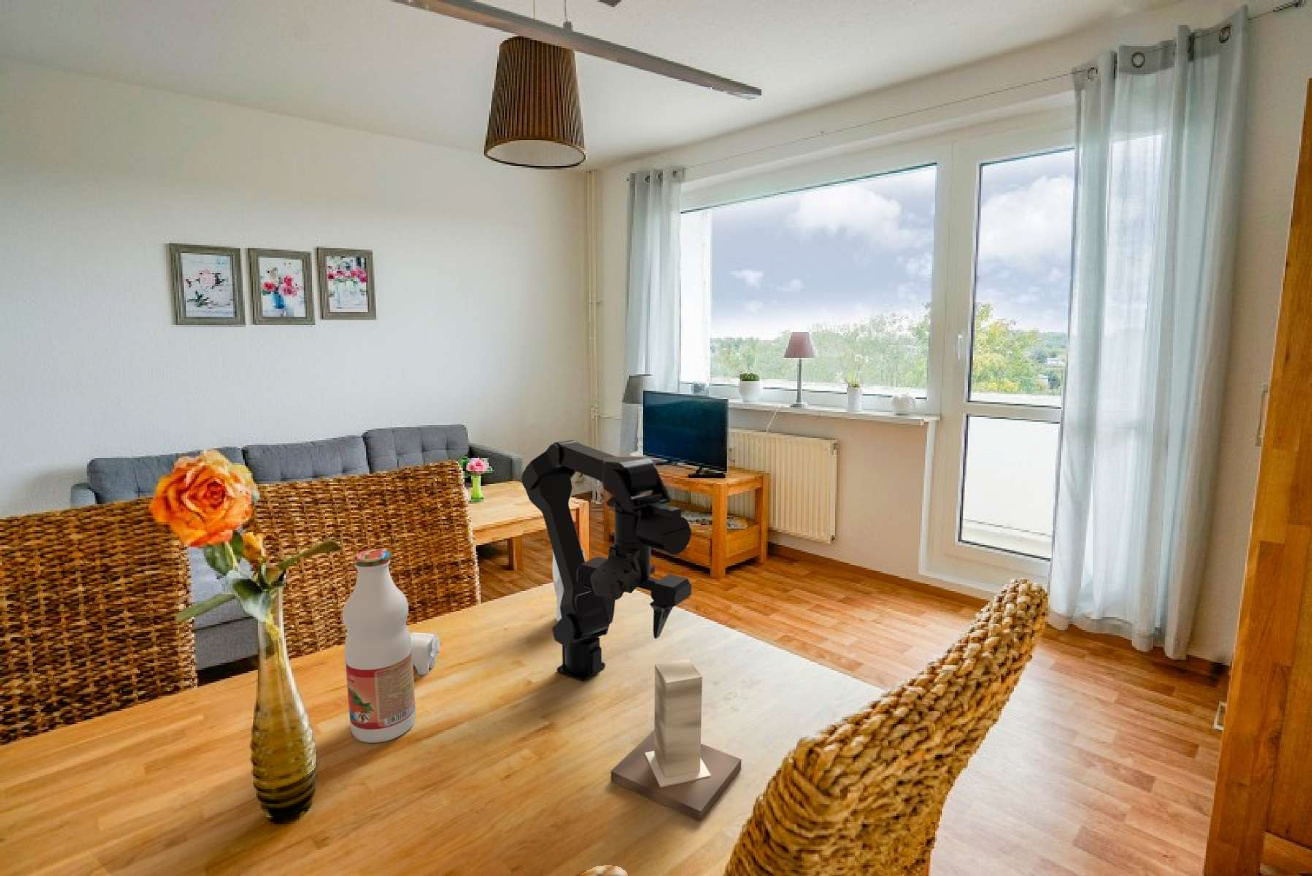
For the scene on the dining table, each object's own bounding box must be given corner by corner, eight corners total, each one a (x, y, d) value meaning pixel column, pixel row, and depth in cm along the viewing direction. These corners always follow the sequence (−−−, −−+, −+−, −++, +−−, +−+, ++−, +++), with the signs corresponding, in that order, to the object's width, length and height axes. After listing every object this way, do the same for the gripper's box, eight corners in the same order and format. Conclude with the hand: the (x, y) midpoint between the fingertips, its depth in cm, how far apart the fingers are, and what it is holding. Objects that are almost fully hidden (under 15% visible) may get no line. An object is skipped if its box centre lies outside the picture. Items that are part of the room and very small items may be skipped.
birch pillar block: (654, 755, 94) (654, 664, 91) (687, 749, 95) (688, 658, 93) (665, 778, 89) (666, 682, 87) (700, 771, 91) (702, 676, 88)
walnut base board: (610, 780, 91) (610, 769, 91) (657, 735, 101) (657, 725, 101) (700, 821, 84) (700, 809, 83) (741, 768, 94) (741, 758, 93)
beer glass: (580, 627, 137) (579, 558, 134) (548, 624, 138) (547, 555, 135) (590, 613, 143) (590, 546, 141) (560, 610, 145) (558, 544, 142)
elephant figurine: (453, 655, 125) (451, 620, 124) (427, 682, 116) (425, 644, 114) (416, 651, 126) (414, 616, 125) (387, 678, 117) (384, 640, 116)
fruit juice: (413, 739, 100) (402, 562, 95) (345, 749, 97) (330, 568, 93) (418, 704, 109) (408, 541, 104) (356, 713, 106) (343, 546, 101)
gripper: (553, 541, 103) (555, 635, 105) (655, 565, 93) (654, 668, 96) (597, 523, 112) (598, 610, 115) (694, 543, 102) (692, 637, 105)
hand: (632, 630), depth 107 cm, fingers open, 9 cm apart
